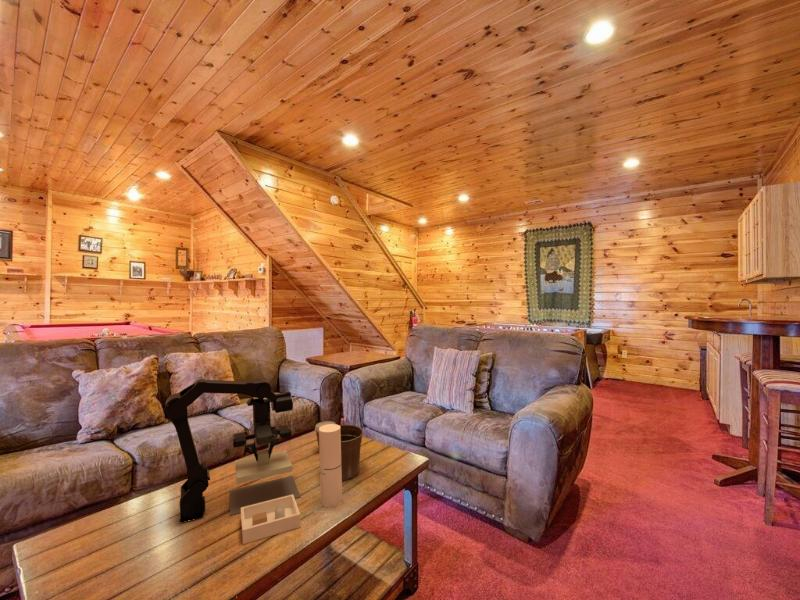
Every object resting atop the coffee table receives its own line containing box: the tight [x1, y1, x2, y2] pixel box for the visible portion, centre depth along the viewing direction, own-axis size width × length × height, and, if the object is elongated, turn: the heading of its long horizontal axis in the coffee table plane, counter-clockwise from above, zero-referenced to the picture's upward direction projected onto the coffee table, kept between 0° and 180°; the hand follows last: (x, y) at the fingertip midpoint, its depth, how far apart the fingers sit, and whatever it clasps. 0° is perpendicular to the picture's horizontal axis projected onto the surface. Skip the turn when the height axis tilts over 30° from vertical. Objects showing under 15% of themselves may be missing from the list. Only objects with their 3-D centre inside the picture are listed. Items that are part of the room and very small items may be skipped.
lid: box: [234, 448, 293, 485], centre depth 128 cm, size 18×14×6 cm
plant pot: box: [338, 424, 364, 482], centre depth 142 cm, size 16×16×16 cm
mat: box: [229, 475, 301, 517], centre depth 129 cm, size 22×16×1 cm
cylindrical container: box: [318, 424, 343, 508], centre depth 123 cm, size 7×7×25 cm
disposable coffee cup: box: [314, 420, 336, 448], centre depth 161 cm, size 10×10×12 cm
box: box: [240, 494, 302, 545], centre depth 112 cm, size 16×12×4 cm
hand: (263, 459), depth 128 cm, fingers closed on lid, 3 cm apart
